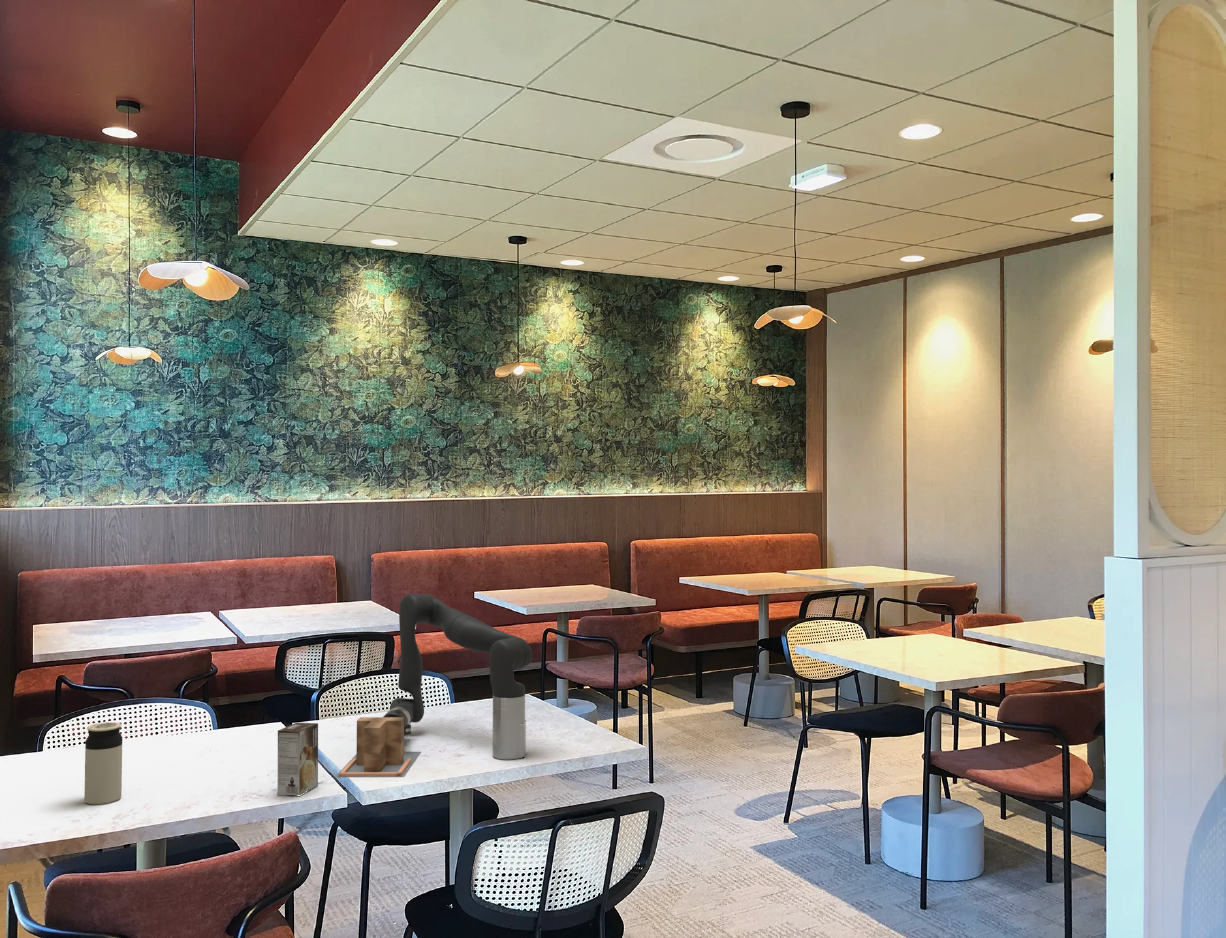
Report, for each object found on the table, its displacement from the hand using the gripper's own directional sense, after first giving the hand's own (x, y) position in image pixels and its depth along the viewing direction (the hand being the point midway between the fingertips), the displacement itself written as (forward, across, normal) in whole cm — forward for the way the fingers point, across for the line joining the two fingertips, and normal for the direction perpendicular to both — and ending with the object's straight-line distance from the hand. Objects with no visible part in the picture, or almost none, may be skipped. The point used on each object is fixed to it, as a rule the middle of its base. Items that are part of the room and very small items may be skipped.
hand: (382, 736), depth 265 cm
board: (+3, 0, +8) cm, 8 cm away
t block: (+6, 0, +7) cm, 9 cm away
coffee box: (+23, -16, +8) cm, 29 cm away
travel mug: (+30, -61, +8) cm, 68 cm away
